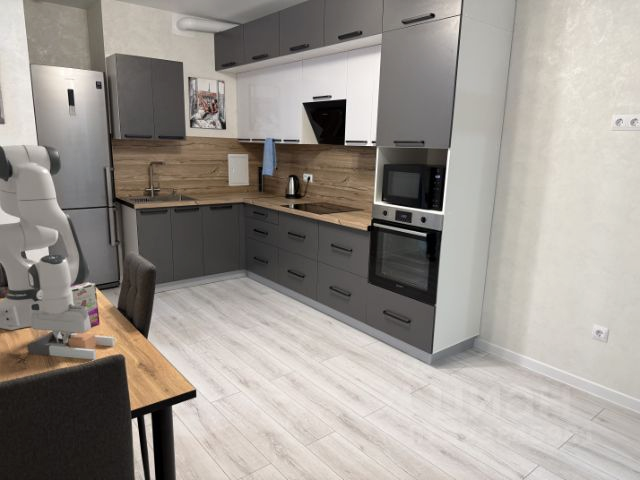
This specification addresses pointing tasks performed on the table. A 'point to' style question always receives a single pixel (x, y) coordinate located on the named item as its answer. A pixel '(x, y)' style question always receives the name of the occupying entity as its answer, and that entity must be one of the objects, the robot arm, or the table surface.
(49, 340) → the bin
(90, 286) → the candy bar box
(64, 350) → the channel
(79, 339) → the block
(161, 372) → the table surface
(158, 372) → the table surface
